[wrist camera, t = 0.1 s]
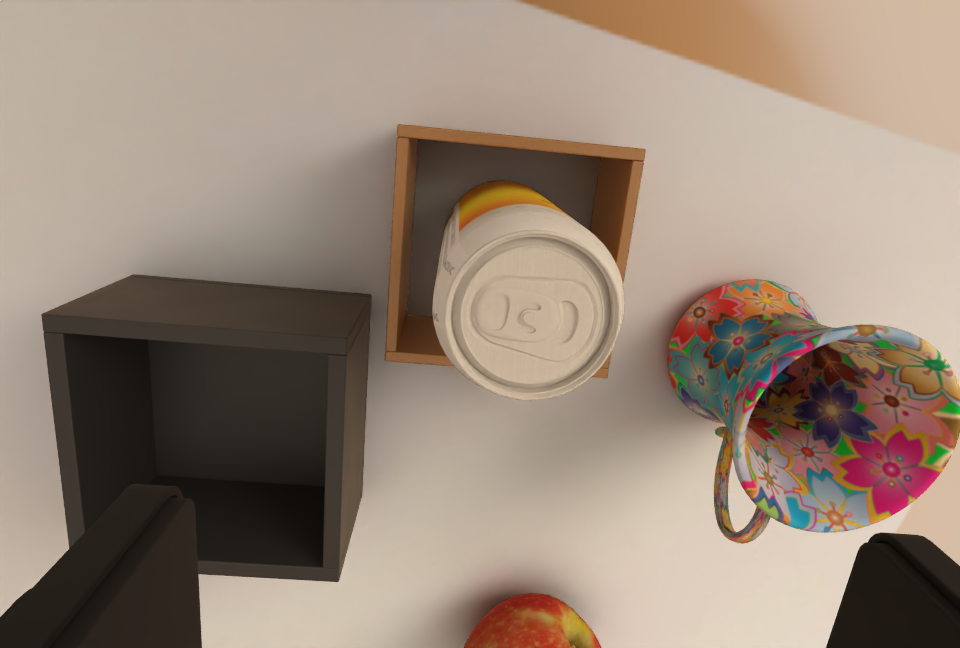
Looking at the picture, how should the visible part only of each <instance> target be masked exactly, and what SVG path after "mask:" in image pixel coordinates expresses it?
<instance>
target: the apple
mask: <svg viewBox="0 0 960 648" xmlns="http://www.w3.org/2000/svg"><path fill="white" fill-rule="evenodd" d="M464 648H601V646H600V644H599V642H598V640H597V638H596V636H595V634H594V633H593V631H592V630H591V629H590V628H589V626H588V625H587V624H586V623H585V622H584V620H583V619H582V618H581V617H580V616H579V615H578V614H577V613H575V611H574V610H573V609H572V608H571V607H569V606H568V605H566V604H565V603H564V602H562V601H560V600H559V599H557V598H554V597H552V596H549V595H544V594H536V593H529V594H522V595H518V596H515V597H512V598H510V599H507V600H505V601H503V602H502V603H500V604H498V605H497V606H495V607H494V608H493V609H491V610H490V611H489V612H488V613H487V614H486V615H485V616H484V617H483V618H482V620H481V621H480V622H479V623H478V624H477V626H476V627H475V628H474V630H473V631H472V633H471V635H470V636H469V638H468V640H467V642H466V644H465V646H464Z"/></svg>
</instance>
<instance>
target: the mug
mask: <svg viewBox="0 0 960 648" xmlns="http://www.w3.org/2000/svg"><path fill="white" fill-rule="evenodd" d="M668 371H669V376H670V380H671V383H672V385H673V388H674V390H675V392H676V393H677V395H678V397H679V398H680V399H681V400H682V402H683V403H684V404H685V405H686V406H687V407H688V408H689V409H691V410H692V411H693V412H695V413H697V414H698V415H700V416H702V417H704V418H706V419H709V420H712V421H715V422H719V423H724V424H725V425H726V426H727V427H719V428H717V429H716V430H715V434H716V435H717V436H719V437H722V438H723V442H722V445H721V449H720V452H719V456H718V461H717V466H716V472H715V482H714V507H715V514H716V519H717V523H718V526H719V528H720V530H721V532H722V533H723V535H724V536H725V537H727V538H728V539H729V540H732V541H734V542H737V543H748V542H750V541H753V540H754V539H756V538H757V537H758V536H759V535H760V534H761V533H762V532H763V530H764V529H765V528H766V526H767V524H768V522H769V520H770V517H772V518H773V519H775V520H777V521H779V522H781V523H783V524H785V525H788V526H791V527H794V528H797V529H801V530H805V531H812V532H825V533H826V532H842V531H849V530H854V529H858V528H862V527H865V526H869V525H871V524H874V523H877V522H879V521H881V520H884V519H886V518H888V517H890V516H892V515H893V514H895V513H897V512H899V511H900V510H902V509H903V508H905V507H906V506H908V505H909V504H910V503H912V502H913V501H914V500H916V499H917V498H918V497H919V496H920V495H921V494H923V493H924V491H926V490H927V488H929V487H930V485H931V484H932V483H933V482H934V481H935V480H936V478H937V477H938V476H939V475H940V473H941V472H942V470H943V469H944V467H945V466H946V464H947V462H948V461H949V459H950V457H951V455H952V453H953V451H954V448H955V446H956V443H957V440H958V437H959V433H960V387H959V384H958V381H957V378H956V376H955V374H954V372H953V370H952V368H951V367H950V365H949V364H948V362H947V361H946V360H945V358H944V357H943V356H942V355H941V354H940V353H939V352H938V351H937V350H936V349H935V348H934V347H933V346H932V345H930V344H929V343H927V342H926V341H925V340H923V339H921V338H919V337H917V336H916V335H913V334H911V333H909V332H906V331H904V330H900V329H897V328H893V327H887V326H881V325H854V326H846V327H841V328H831V327H827V326H823V325H821V324H819V323H818V322H817V319H816V317H815V315H814V313H813V311H812V309H811V308H810V307H809V305H808V304H807V303H806V302H805V300H804V299H803V298H802V297H801V296H799V295H798V294H797V293H796V292H794V291H793V290H791V289H789V288H788V287H786V286H783V285H781V284H778V283H775V282H771V281H766V280H742V281H736V282H732V283H729V284H725V285H723V286H720V287H718V288H716V289H714V290H712V291H710V292H709V293H707V294H706V295H704V296H703V297H701V298H700V299H699V300H697V301H696V302H695V303H694V304H693V305H692V306H691V307H690V308H689V309H688V310H687V311H686V313H685V314H684V315H683V317H682V318H681V320H680V321H679V323H678V324H677V326H676V328H675V330H674V333H673V335H672V338H671V341H670V345H669V350H668ZM732 458H733V461H734V465H735V470H736V473H737V476H738V479H739V481H740V483H741V485H742V487H743V489H744V490H745V492H746V493H747V495H748V496H749V497H750V499H751V500H752V501H753V502H754V503H755V504H756V505H757V508H756V511H755V513H754V515H753V517H752V519H751V521H750V522H749V524H748V525H747V526H746V527H745V528H744V529H743V530H741V531H739V532H735V531H734V529H733V527H732V524H731V521H730V516H729V509H728V481H729V473H730V467H731V463H732Z"/></svg>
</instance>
